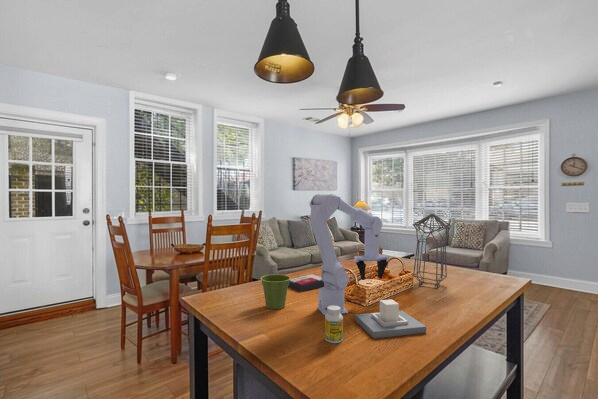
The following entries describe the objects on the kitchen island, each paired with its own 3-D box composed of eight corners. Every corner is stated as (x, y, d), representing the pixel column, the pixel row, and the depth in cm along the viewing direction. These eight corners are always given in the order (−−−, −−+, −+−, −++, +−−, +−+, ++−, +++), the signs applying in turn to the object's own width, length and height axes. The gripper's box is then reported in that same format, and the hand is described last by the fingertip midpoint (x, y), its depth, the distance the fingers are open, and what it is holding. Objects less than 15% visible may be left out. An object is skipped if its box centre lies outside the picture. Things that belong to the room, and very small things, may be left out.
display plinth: (373, 338, 92) (373, 328, 92) (355, 320, 106) (355, 311, 106) (426, 332, 96) (426, 323, 96) (401, 315, 110) (401, 307, 110)
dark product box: (287, 279, 146) (311, 273, 155) (287, 288, 146) (311, 281, 155) (301, 284, 137) (326, 277, 146) (301, 293, 138) (326, 286, 147)
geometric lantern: (417, 279, 159) (419, 212, 159) (450, 285, 150) (453, 214, 150) (408, 286, 146) (411, 213, 146) (444, 293, 137) (447, 215, 137)
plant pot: (297, 306, 119) (297, 277, 119) (274, 314, 111) (274, 283, 110) (276, 299, 127) (276, 272, 127) (253, 306, 119) (254, 277, 119)
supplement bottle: (339, 334, 95) (339, 303, 95) (345, 342, 90) (345, 310, 90) (322, 336, 94) (322, 305, 94) (328, 344, 88) (328, 311, 88)
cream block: (386, 323, 99) (386, 304, 98) (379, 318, 103) (379, 300, 103) (398, 322, 99) (398, 303, 99) (391, 317, 104) (391, 299, 104)
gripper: (359, 247, 119) (359, 282, 119) (393, 246, 122) (392, 280, 122) (352, 244, 126) (351, 277, 126) (384, 243, 129) (384, 275, 129)
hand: (371, 278), depth 125 cm, fingers open, 7 cm apart
